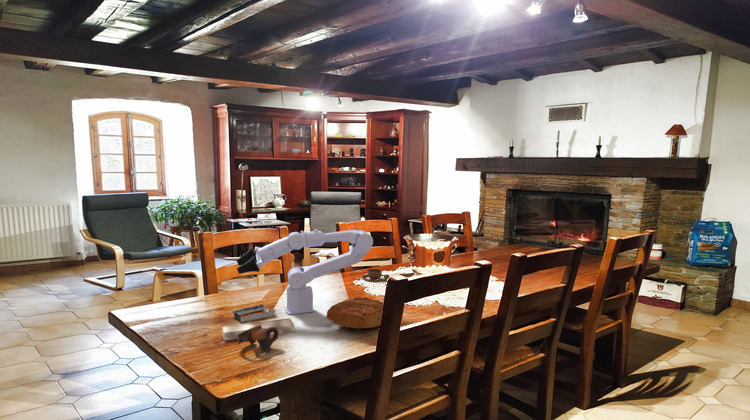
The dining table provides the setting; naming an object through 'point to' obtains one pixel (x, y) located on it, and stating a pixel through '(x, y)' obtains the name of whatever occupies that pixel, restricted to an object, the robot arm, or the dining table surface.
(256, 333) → the brown looped piece
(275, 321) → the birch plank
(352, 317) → the bread loaf
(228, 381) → the dining table surface
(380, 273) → the place setting
